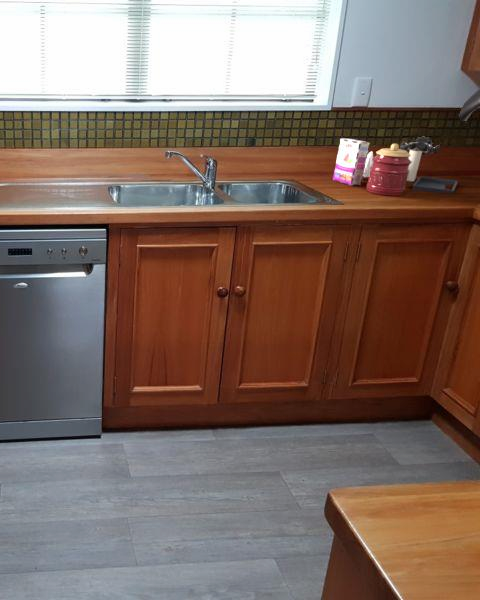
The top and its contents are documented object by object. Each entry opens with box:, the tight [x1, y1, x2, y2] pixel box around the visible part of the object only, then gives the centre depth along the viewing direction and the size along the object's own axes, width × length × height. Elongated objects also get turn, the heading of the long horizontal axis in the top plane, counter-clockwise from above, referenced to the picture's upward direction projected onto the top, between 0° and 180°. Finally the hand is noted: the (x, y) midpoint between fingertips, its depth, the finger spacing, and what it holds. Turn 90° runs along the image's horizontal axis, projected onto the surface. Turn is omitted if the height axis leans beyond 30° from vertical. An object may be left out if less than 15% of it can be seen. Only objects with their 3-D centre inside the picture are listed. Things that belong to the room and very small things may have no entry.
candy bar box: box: [332, 138, 371, 187], centre depth 235 cm, size 11×5×16 cm, turn 17°
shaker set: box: [362, 151, 374, 180], centre depth 244 cm, size 12×4×11 cm, turn 108°
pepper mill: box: [406, 148, 422, 182], centre depth 243 cm, size 4×4×13 cm
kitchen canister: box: [365, 143, 412, 197], centre depth 221 cm, size 13×13×18 cm
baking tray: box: [411, 176, 459, 195], centre depth 234 cm, size 14×22×2 cm, turn 146°
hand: (417, 149), depth 246 cm, fingers open, 8 cm apart
